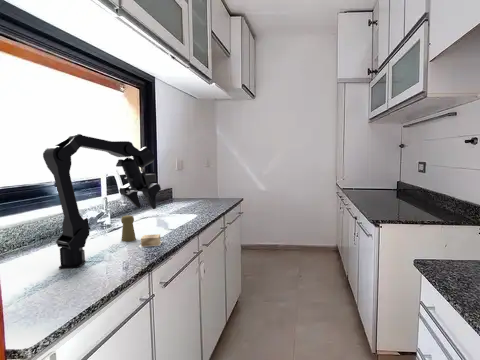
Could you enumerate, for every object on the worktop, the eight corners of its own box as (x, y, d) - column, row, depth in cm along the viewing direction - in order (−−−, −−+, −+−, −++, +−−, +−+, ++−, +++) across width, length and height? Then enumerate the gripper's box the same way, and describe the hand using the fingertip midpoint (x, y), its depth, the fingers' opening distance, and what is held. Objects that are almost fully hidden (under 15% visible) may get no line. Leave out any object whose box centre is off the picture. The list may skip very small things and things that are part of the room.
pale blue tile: (127, 250, 140) (127, 248, 140) (133, 243, 151) (133, 241, 151) (159, 248, 140) (159, 246, 140) (163, 241, 151) (163, 240, 151)
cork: (131, 243, 151) (130, 216, 151) (118, 243, 152) (117, 216, 152) (138, 239, 157) (137, 214, 157) (125, 239, 158) (124, 214, 158)
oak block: (141, 246, 142) (140, 238, 142) (144, 242, 149) (143, 235, 148) (158, 245, 143) (157, 237, 142) (160, 241, 149) (160, 234, 149)
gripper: (163, 163, 140) (176, 199, 146) (133, 164, 152) (146, 197, 157) (142, 176, 132) (157, 213, 138) (112, 176, 144) (126, 210, 149)
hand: (147, 208), depth 146 cm, fingers open, 9 cm apart
